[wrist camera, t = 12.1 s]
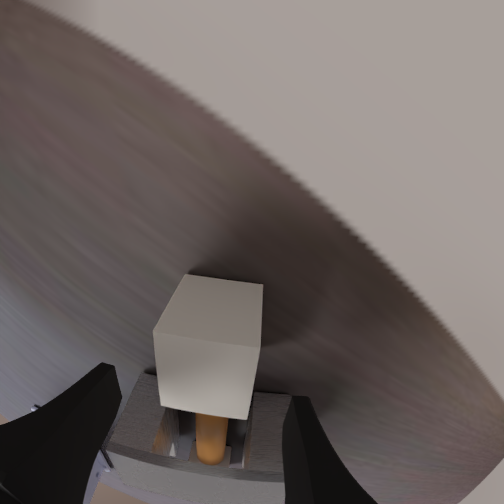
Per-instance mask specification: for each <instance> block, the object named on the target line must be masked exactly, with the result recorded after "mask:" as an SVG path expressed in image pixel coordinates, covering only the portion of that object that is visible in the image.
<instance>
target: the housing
mask: <svg viewBox="0 0 504 504" xmlns="http://www.w3.org/2000/svg"><path fill="white" fill-rule="evenodd" d="M290 401H291V395H285V394H272V393H262V392H254V396H253V401H252V406H251V411H250V416H249V421H248V426H247V431H246V436H245V441H244V446H243V455H242V466H241V467H243V469H236V468H227V467H220V466H213V465H206V464H200V463H195V462H189V461H184V460H179V459H174V458H170V457H169V455H170V456H175V457H176V453H177V449H178V445H179V441H180V429H179V419H178V409H174V408H170V407H165V406H161V402H160V394H159V387H158V378H157V376H155V375H150V374H146V373H142V372H141V374H140V376H139V378H138V380H137V382H136V384H135V387H134V389H133V391H132V393H131V395H130V397H129V399H128V401H127V404H126V406H125V408H124V410H123V412H122V414H121V417H120V419H119V421H118V423H117V425H116V428H115V430H114V432H113V434H112V437H111V439H110V441H109V443H108V446H107V448H106V452H107V454H108V456H109V458H110V460H111V462H112V464H113V465H114V467H115V469H116V471H117V473H118V474H119V476H120V478H121V480H122V481H123V483H124V484H125V485H129V486H132V487H135V488H139V489H142V490H146V491H149V492H153V493H157V494H161V495H165V496H169V497H174V498H179V499H184V500H189V501H194V502H200V503H206V504H282V502H283V501H284V499H285V484H284V471H283V458H282V427H283V422H284V419H285V416H286V413H287V410H288V407H289V404H290Z"/></svg>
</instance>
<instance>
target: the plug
mask: <svg viewBox="0 0 504 504" xmlns="http://www.w3.org/2000/svg"><path fill="white" fill-rule="evenodd" d="M262 300H263V284H255V283H247V282H239V281H232V280H224V279H217V278H210V277H203V276H196V275H189V274H185V275H184V276H183V278H182V280H181V282H180V283H179V285H178V287H177V289H176V290H175V292H174V294H173V296H172V297H171V299H170V301H169V303H168V305H167V306H166V308H165V310H164V312H163V314H162V315H161V317H160V319H159V321H158V323H157V325H156V326H155V328H154V330H153V339H154V350H155V360H156V370H157V378H158V387H159V394H160V402H161V406H165V407H170V408H174V409H179V410H184V411H190V412H195V413H196V441H193V443H192V448H191V452H190V456H189V462H195V463H200V464H206V465H213V466H220V467H227V468H229V464H230V456H231V448H232V447H230V446H225V445H226V436H227V428H228V419H229V418H235V419H243V420H247V417H248V412H249V407H250V402H251V397H252V391H253V386H254V381H255V375H256V370H257V364H258V359H259V353H260V347H261V324H262Z"/></svg>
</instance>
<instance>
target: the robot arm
mask: <svg viewBox="0 0 504 504" xmlns="http://www.w3.org/2000/svg"><path fill="white" fill-rule="evenodd" d="M121 399H122V395H121V391H120V387H119V383H118V379H117V375H116V371H115V366H113V365H110V364H106V363H103V362H102V363H100V364H99V365H98V366H96V367H95V368H94V369H92V370H91V371H90V372H89V373H87V374H86V375H85V376H84V377H82V378H81V379H80V380H79V381H77V382H76V383H75V384H74V385H72V386H71V387H70V388H68V389H67V390H66V391H64V392H63V393H62V394H60V395H59V396H57V397H56V398H54V399H53V400H51V401H50V402H48V403H47V404H45V405H43V406H42V407H40V408H37V407H34V406H33V407H32V408H31V409H32V411H33V412H31V413H29V414H27V415H25V416H23V417H20V418H18V419H16V420H13V421H11V422H8V423H6V424H2V425H0V504H90V502H91V499H92V497H93V494H94V491H95V489H96V486H97V484H98V481H99V479H100V476H101V474H102V472H103V470H104V471H107V472H110V471H111V468H110V467H109V465H108V463H107V461H106V459H105V458H104V456H103V454H102V452H101V450H100V448H101V446H102V444H103V442H104V440H105V438H106V436H107V434H108V432H109V430H110V428H111V426H112V423H113V421H114V419H115V417H116V414H117V412H118V409H119V406H120V403H121ZM282 458H283V471H284V484H285V504H378V503H377V502H376V501H375V500H374V499H373V498H372V497H371V496H370V495H369V494H368V493H367V492H366V491H365V490H364V489H363V488H362V487H361V486H360V485H359V483H358V482H357V481H356V480H355V479H354V477H353V476H352V475H351V474H350V472H349V471H348V470H347V468H346V467H345V465H344V464H343V463H342V461H341V460H340V458H339V456H338V455H337V453H336V452H335V450H334V448H333V447H332V445H331V443H330V441H329V440H328V438H327V436H326V434H325V432H324V430H323V428H322V426H321V424H320V422H319V420H318V418H317V416H316V413H315V411H314V409H313V406H312V404H311V401H310V399H309V397H307V396H292V398H291V401H290V404H289V407H288V410H287V413H286V416H285V419H284V422H283V427H282Z"/></svg>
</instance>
